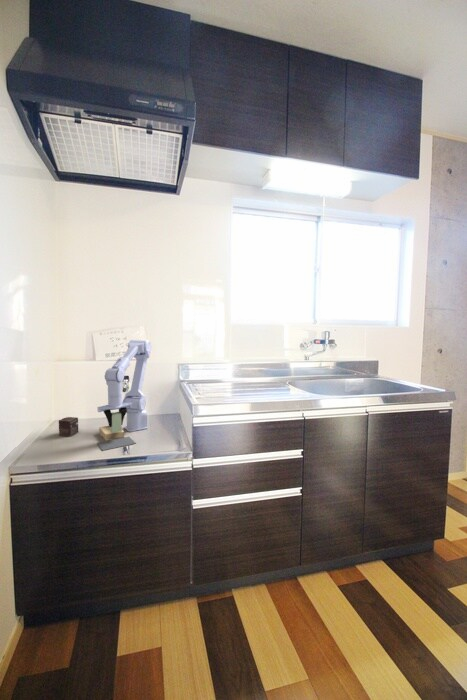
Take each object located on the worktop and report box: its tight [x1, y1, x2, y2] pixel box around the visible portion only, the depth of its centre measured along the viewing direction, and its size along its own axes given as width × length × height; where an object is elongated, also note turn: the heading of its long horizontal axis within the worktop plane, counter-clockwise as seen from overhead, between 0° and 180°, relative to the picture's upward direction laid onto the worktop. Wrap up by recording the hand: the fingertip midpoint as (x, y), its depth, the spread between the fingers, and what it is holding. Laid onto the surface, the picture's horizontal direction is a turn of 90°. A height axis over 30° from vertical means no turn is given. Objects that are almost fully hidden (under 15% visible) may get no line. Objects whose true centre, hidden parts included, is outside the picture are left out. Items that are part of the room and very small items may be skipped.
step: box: [98, 425, 125, 441], centre depth 154 cm, size 8×12×3 cm, turn 35°
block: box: [110, 411, 123, 433], centre depth 148 cm, size 4×4×8 cm
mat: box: [96, 436, 137, 452], centre depth 145 cm, size 14×10×1 cm
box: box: [58, 416, 79, 437], centre depth 155 cm, size 6×6×7 cm
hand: (115, 425), depth 148 cm, fingers closed on block, 4 cm apart
